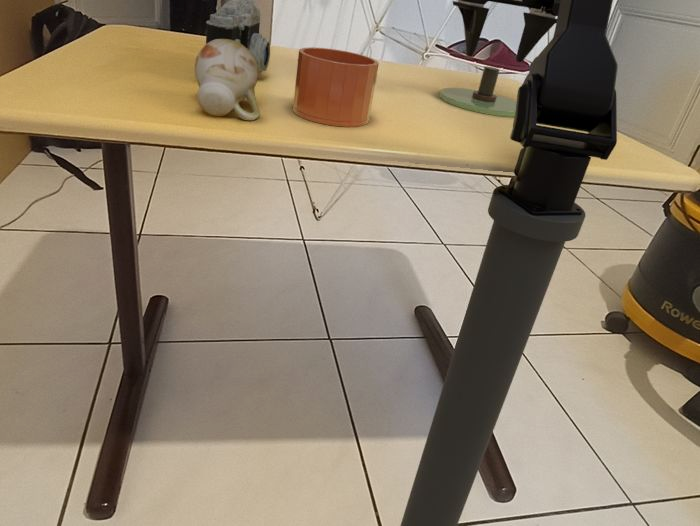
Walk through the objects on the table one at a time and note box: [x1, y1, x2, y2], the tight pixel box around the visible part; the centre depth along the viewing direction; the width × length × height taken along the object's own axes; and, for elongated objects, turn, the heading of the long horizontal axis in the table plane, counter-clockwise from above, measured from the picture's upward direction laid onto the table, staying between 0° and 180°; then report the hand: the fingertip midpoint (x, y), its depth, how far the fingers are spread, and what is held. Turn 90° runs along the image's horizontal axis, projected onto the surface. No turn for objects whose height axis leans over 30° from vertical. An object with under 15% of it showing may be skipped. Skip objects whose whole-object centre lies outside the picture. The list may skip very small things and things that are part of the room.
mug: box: [194, 39, 260, 121], centre depth 63 cm, size 8×10×10 cm
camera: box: [205, 0, 271, 74], centre depth 77 cm, size 15×7×10 cm, turn 175°
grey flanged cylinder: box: [472, 66, 500, 102], centre depth 88 cm, size 4×4×5 cm
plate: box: [439, 87, 517, 118], centre depth 90 cm, size 14×14×1 cm
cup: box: [292, 46, 380, 128], centre depth 67 cm, size 9×9×7 cm
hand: (494, 59), depth 86 cm, fingers open, 9 cm apart
